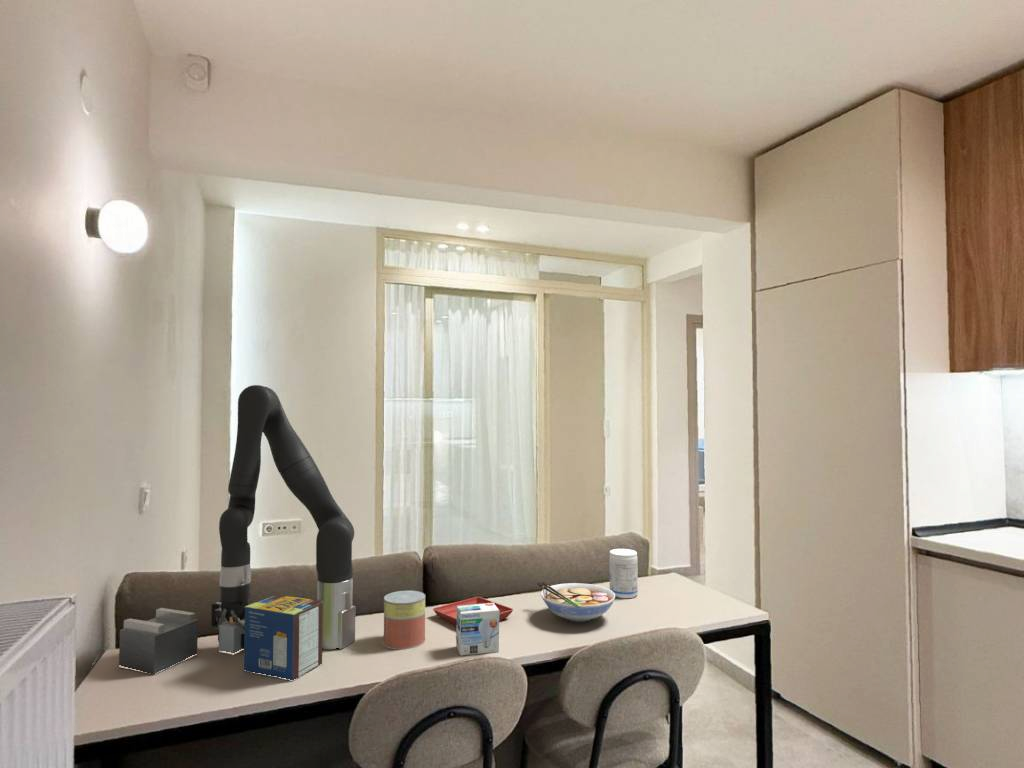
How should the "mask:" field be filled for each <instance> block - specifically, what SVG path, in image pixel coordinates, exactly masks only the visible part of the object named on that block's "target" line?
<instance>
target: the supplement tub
mask: <svg viewBox="0 0 1024 768" xmlns="http://www.w3.org/2000/svg"><path fill="white" fill-rule="evenodd" d="M608 558H609V565H608V566H609V589H610V590H611V591H613V592H614V593H615V598H618V599H633V598H635V597H637V596H638V593H639V590H638V589H639V588H638V586H639V585H638V584H639V583H638V579H639V578H638V572H639V571H638V552H637V551H636V550H634V549H629V548H613V549H611V550H610V551H609V557H608Z"/></svg>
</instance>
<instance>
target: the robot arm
mask: <svg viewBox="0 0 1024 768" xmlns="http://www.w3.org/2000/svg"><path fill="white" fill-rule="evenodd" d="M236 429H237V430H236V442H235V448H234V455H233V461H232V466H231V471H230V475H229V481H228V489H227V490H228V494H229V500H228V506H227V508H226V510H224V511H223V512H222V514H220V518H219V523H218V532H219V538H220V540H219V541H220V546H221V555H220V557H221V558H220V559H221V561H220V572H219V586H218V587H219V591H218V592H219V593H218V602H214V603H212V604H211V626H212V628H216V630H217V641H218V643H219V625H221V624H224V623H226V622H229V621H230V617H233V622H236V625H237V626H238V627H239V628H240V630H241V633H242V634H241V648H243V649H244V635H245V627H244V624H245V606H248V605H249V599H250V598H251V595H252V594H251V592H252V591H251V589H252V586H251V585H252V584H251V583H252V568H251V544H250V542H248V529H249V527H250V526H251V524H252V523H253V520H254V517H255V511H256V491H257V488H258V484H259V478H260V475H261V474H260V473H261V465H262V464H261V463H262V462H261V460H262V456H261V455H262V453H261V452H262V448H261V447H262V438H263V434H264V436H265V438H266V440H267V442H268V445H269V448H270V451H271V456H272V459H273V463H274V465H275V467H276V469H277V472H278V473H279V475H280V477H281V478H282V480H283V482H284V484H285V485H286V487H287V488H288V490H289V491H290V492H291V493H292V494H293V495H294V496H295V498H296V499H297V500H298V501H299V502H301V504H302V505H303V506H304V507H305V508H306V509H307V510H308V512H309V513H310V515H311V517H312V519H313V521H314V523H315V525H316V527H317V530H318V531H317V534H316V540H315V541H316V542H315V560H316V561H315V565H316V566H315V568H316V574H317V585H316V587H317V589H316V590H317V593H316V600H320V601H323V616H322V648H323V649H322V650H337V649H336V648H339V649H340V650H342V648H343V649H344V648H346V647H347V645H348V646H349V645H351V644H353V643H355V642H356V608H357V607H356V606H355V605H354V604H353V587H354V586H353V583H354V582H353V579H354V578H353V577H354V568H353V567H354V566H353V560H352V558H353V554H352V552H353V550H352V549H353V541H354V538H355V529H354V526H353V523H352V522H351V521H350V520H349V518H348V517H347V516H346V514H345V513H344V512H343V510H342V509H341V508H340V506H339V505H338V503H337V501H336V500H335V499H334V497H333V495H332V494H331V491H330V488H329V487H328V485H327V482H326V481H325V478H324V477H323V475H322V473H321V471H320V469H319V467H318V466H317V464H316V462H315V460H314V458H313V457H312V456H311V453H310V452H309V450H308V449H307V447H306V446H305V444H304V442H303V440H301V438H300V437H299V435H298V433H297V432H296V431H295V430H294V428H293V426H292V425H291V423H290V421H289V419H288V417H287V414H286V412H285V410H284V407H283V405H282V402H281V401H280V398H279V396H278V395H277V393H276V391H274V390H273V389H272V388H270V387H268V386H264V385H259V384H253V385H249V386H247V387H245V388H244V389H243V390H242V391H241V392H240V394H239V395H238V399H237V427H236ZM241 620H244V621H241ZM352 642H353V643H352ZM350 643H351V644H350ZM339 649H338V650H339Z"/></svg>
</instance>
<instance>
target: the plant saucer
mask: <svg viewBox="0 0 1024 768" xmlns="http://www.w3.org/2000/svg"><path fill="white" fill-rule="evenodd" d="M485 603H494V604H495V605H496V607H497V608H498V609H499V622H500V620H501V621H504V620H507V618H508V617H509V616H510V615H511V614H512V613H513V611H514V608H513V607H512V608H511V607H509V606H506V605H503V604H500V603H498V602H494V601H491V600H488V599H486V598H483V597H481V596H475V597H471V598H467V599H463V600H460V601H456V602H452V603H448V604H444V605H440V606H436V607H433V608H432V610H433V611H434V613H435V614H436V616H437V617H439V619H441V620H443V619H444V621H445V622H448V623H450V624H453V625H454V626H457V606H462V605H474V604H485ZM503 619H504V620H503Z"/></svg>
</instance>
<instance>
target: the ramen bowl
mask: <svg viewBox="0 0 1024 768" xmlns="http://www.w3.org/2000/svg"><path fill="white" fill-rule="evenodd" d="M536 585H537V586H538V587H540V588H542V590H541V591H540V596H541V599H542V600H543V602H544V603H545V605H546V606H547V608H548V609H549V610H550V611H551V613H553V614H555V615H556V616H558V617H560V618H562V619H565V620H567V621H569V622H573V623H585V621H586V622H588V621H590V620H594V619H598V618H599V617H601V616H602V615H604V614H605V613H607V612H608V610H609V609H610V608H611V607H612V605H613V603H614V601H615V599H616V597H615V593H614V592H613V591H611V590H610V588H607V587H605V586H602V585H596V584H591V583H582V582H581V583H580V582H579V583H578V582H568V583H559V584H558V583H557V584H553V585H549V584H547V583H546V582H544V581H542V582H541V583H540V582H536Z"/></svg>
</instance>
